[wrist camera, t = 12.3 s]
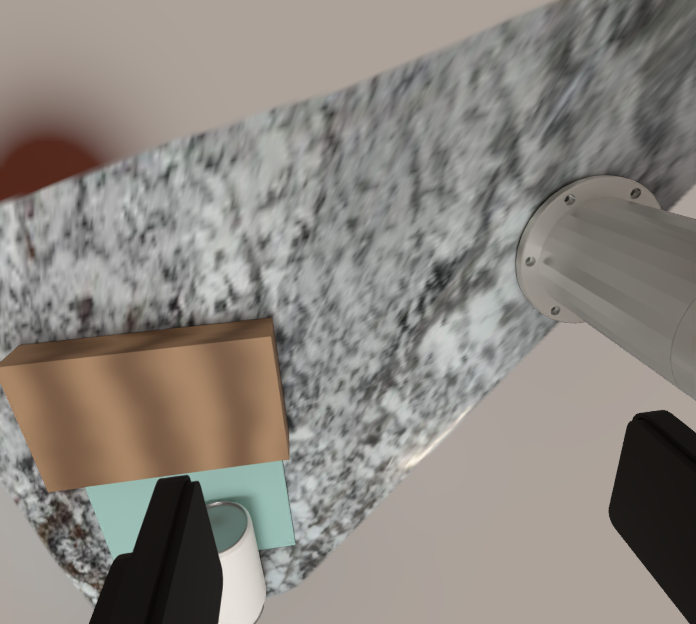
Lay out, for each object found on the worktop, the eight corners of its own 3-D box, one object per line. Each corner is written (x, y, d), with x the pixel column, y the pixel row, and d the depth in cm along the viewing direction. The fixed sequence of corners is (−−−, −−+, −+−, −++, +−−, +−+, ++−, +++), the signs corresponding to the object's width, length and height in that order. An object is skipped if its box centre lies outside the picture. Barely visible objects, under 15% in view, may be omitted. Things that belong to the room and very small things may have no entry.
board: (272, 317, 39) (270, 336, 35) (289, 433, 44) (289, 459, 40) (19, 345, 37) (-7, 367, 34) (66, 462, 42) (48, 492, 39)
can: (263, 530, 42) (280, 611, 47) (232, 486, 46) (250, 565, 52) (193, 574, 38) (220, 656, 44) (167, 522, 43) (194, 602, 48)
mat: (278, 435, 43) (278, 437, 43) (295, 541, 49) (295, 544, 49) (78, 461, 42) (76, 464, 42) (119, 567, 48) (118, 571, 47)
